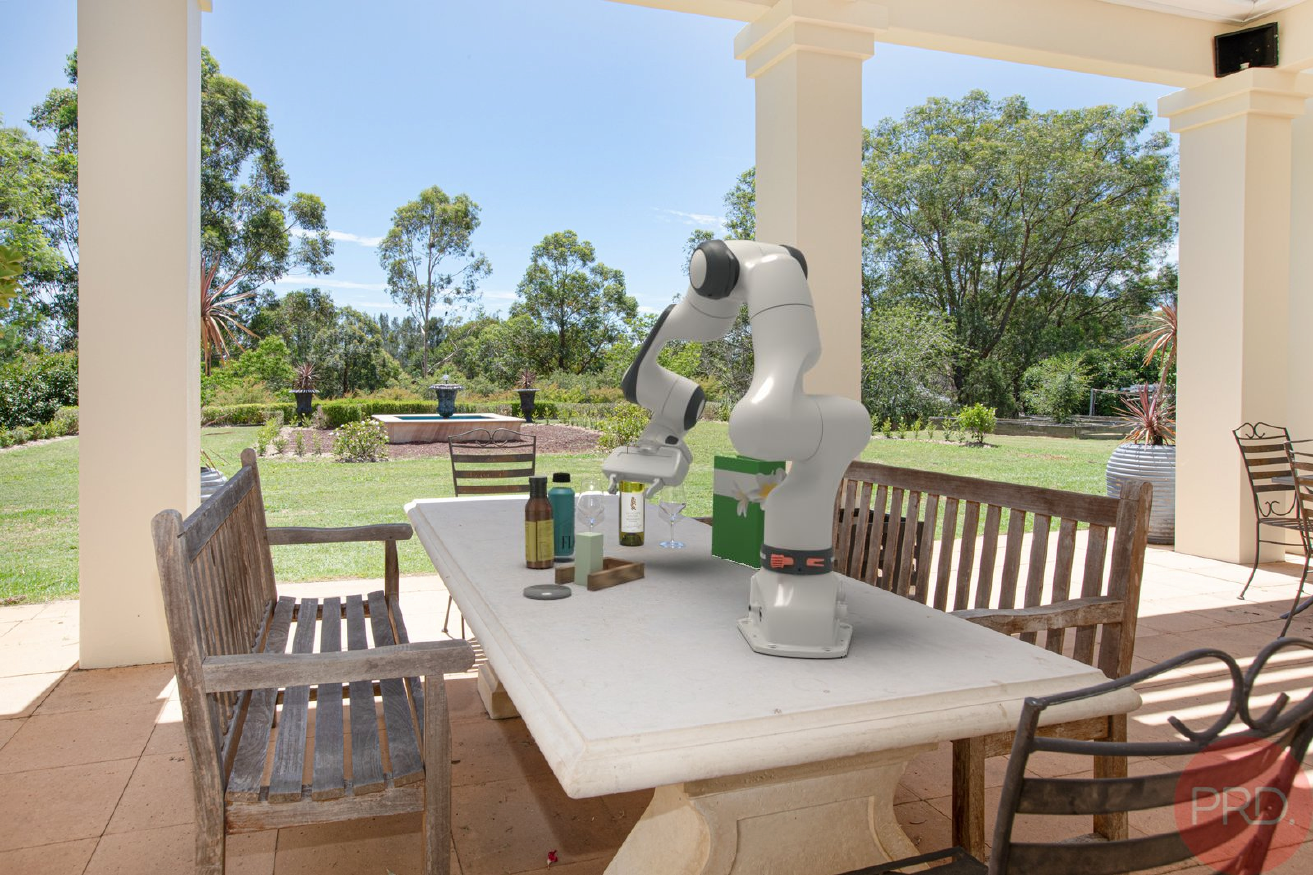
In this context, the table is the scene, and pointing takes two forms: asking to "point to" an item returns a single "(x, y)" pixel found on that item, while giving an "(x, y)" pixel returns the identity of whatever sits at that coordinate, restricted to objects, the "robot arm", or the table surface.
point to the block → (588, 555)
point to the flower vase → (757, 490)
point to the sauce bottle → (539, 525)
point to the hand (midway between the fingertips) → (628, 495)
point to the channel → (604, 573)
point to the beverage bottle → (563, 515)
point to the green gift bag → (728, 528)
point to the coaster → (547, 592)
